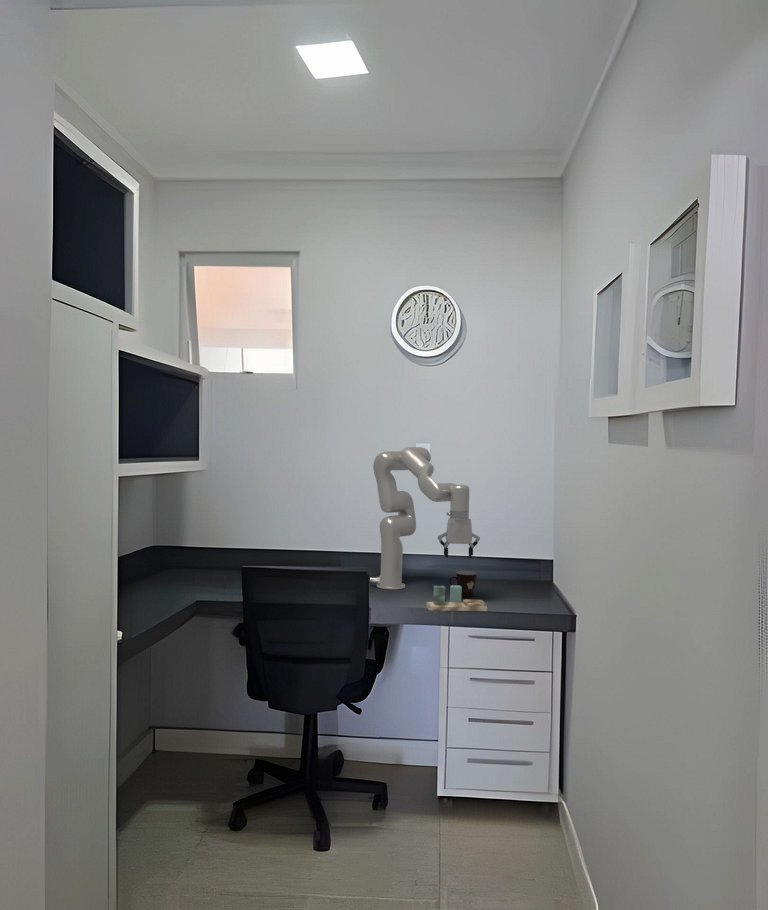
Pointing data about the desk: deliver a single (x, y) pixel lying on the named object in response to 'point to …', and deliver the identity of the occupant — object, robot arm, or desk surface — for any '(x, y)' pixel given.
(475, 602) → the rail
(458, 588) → the pale green block
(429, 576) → the desk surface
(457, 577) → the coffee mug
